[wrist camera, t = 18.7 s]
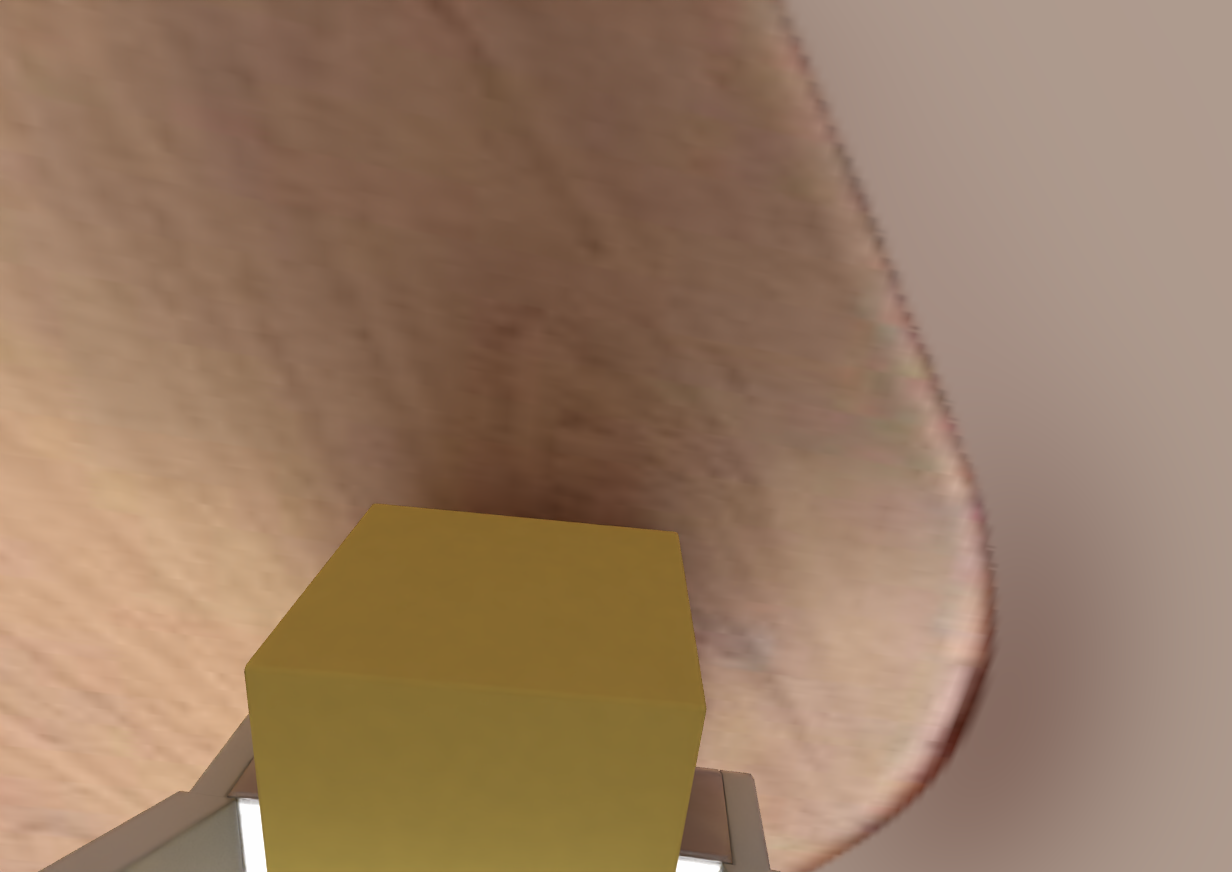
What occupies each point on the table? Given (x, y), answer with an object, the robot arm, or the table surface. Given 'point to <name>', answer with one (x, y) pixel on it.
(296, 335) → the table surface
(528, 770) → the sponge
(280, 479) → the table surface
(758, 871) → the robot arm
